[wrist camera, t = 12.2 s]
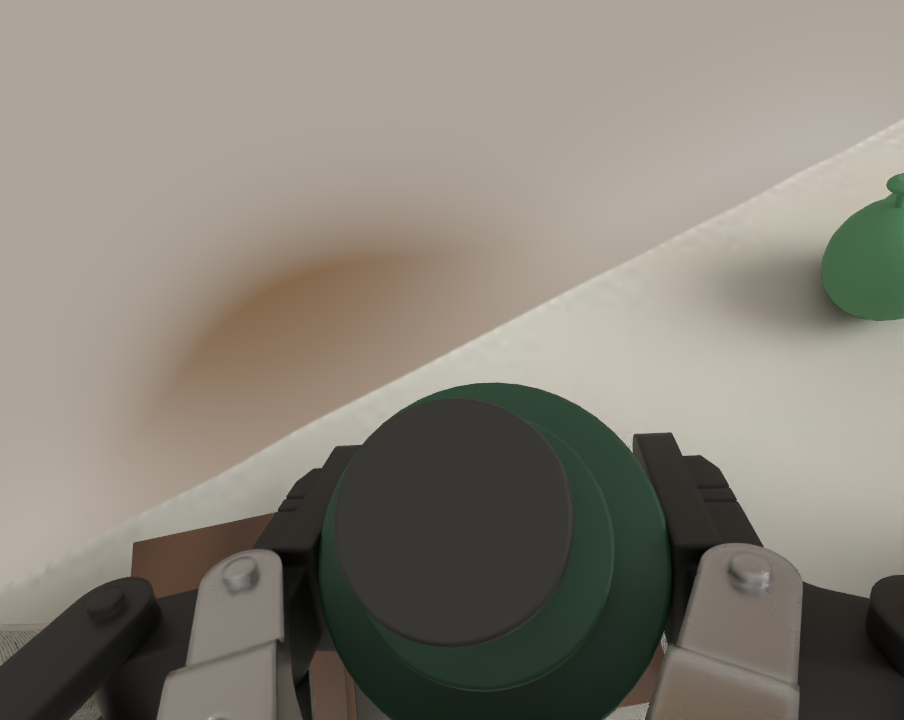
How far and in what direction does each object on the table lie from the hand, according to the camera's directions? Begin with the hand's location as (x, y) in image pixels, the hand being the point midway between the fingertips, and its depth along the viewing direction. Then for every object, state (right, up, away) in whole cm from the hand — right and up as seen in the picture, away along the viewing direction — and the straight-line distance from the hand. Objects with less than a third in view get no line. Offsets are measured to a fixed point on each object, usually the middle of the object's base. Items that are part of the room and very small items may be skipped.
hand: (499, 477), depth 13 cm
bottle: (+1, -4, +4) cm, 6 cm away
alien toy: (+27, +7, +27) cm, 39 cm away
